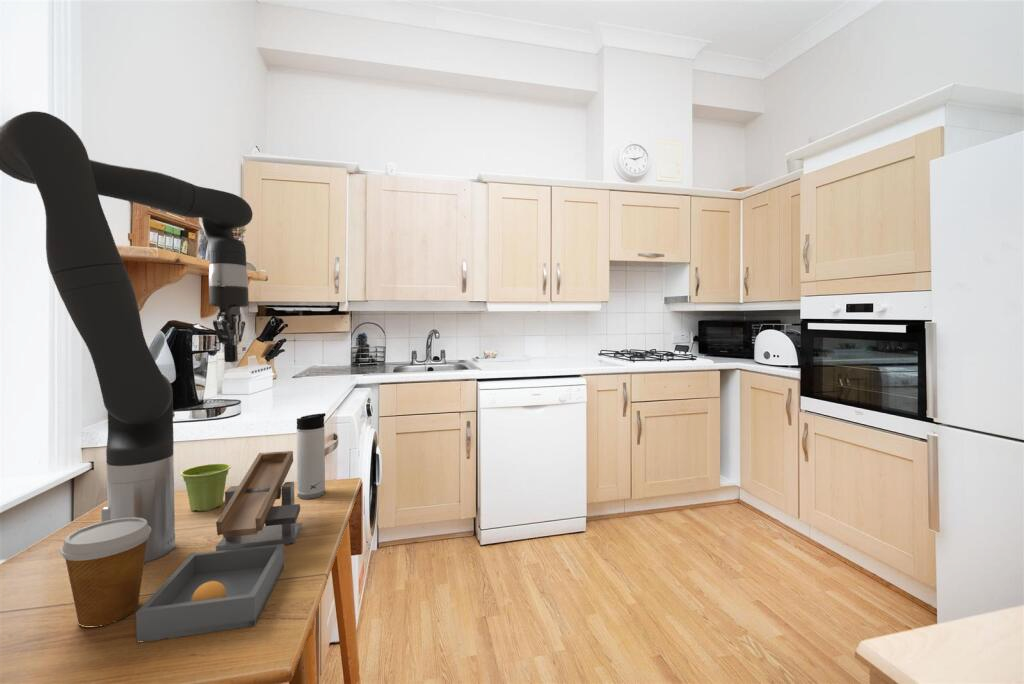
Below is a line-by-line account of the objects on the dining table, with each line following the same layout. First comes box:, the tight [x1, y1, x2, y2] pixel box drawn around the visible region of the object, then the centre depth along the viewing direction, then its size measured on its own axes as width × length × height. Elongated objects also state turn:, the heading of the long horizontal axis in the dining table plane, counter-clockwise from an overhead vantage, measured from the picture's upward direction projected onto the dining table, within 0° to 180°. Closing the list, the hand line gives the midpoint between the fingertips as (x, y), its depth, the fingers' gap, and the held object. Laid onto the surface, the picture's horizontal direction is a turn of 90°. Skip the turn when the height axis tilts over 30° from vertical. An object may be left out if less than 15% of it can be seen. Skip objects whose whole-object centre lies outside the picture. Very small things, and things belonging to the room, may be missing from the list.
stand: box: [215, 481, 303, 551], centre depth 86 cm, size 13×7×10 cm, turn 104°
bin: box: [135, 544, 285, 643], centre depth 66 cm, size 14×16×4 cm
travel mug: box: [296, 413, 326, 500], centre depth 109 cm, size 6×7×20 cm
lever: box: [215, 450, 301, 539], centre depth 86 cm, size 11×24×5 cm, turn 14°
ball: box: [191, 581, 226, 602], centre depth 62 cm, size 4×4×4 cm
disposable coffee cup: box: [59, 517, 151, 626], centre depth 63 cm, size 10×10×12 cm
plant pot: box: [180, 463, 232, 512], centre depth 102 cm, size 9×9×9 cm
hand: (231, 361), depth 101 cm, fingers closed
